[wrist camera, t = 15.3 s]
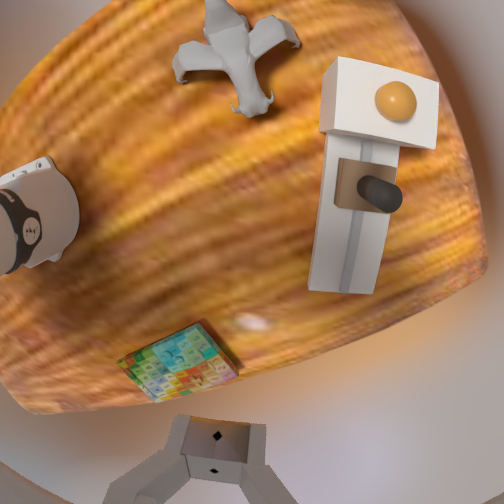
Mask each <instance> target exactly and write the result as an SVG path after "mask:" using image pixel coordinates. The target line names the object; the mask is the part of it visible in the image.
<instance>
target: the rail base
mask: <svg viewBox="0 0 504 504" xmlns="http://www.w3.org/2000/svg"><path fill="white" fill-rule="evenodd" d="M392 81H399V82H403V83H405V84H406V85H408V86H409V87H410V88H411V89H412V91H413V92H414V94H415V96H416V100H417V108H416V111H415V113H414V114H413V116H412V117H410V118H408V119H405V120H396V121H393V120H389V119H387V118H385V117H383V116H382V115H381V114H380V113H379V111H378V110H377V108H376V105H375V94H376V91H377V90H378V88H380V87H381V86H383V85H385V84H387V83H389V82H392ZM438 100H439V83H437V82H435V81H432V80H429V79H426V78H423V77H420V76H417V75H414V74H410V73H407V72H404V71H400V70H397V69H393V68H389V67H386V66H382V65H378V64H373V63H369V62H365V61H360V60H355V59H350V58H345V57H340V56H338V57H337V58H336V60H335V61H334V62H333V63H332V65H331V66H330V67H329V68H328V69H327V71H326V72H325V73H324V74H323V76H322V92H321V107H320V120H319V132H323V133H326V138H325V149H324V160H323V170H322V179H321V188H320V197H319V205H318V213H317V221H316V229H315V236H314V243H313V250H312V257H311V264H310V270H309V277H308V283H307V285H308V289H309V290H311V291H325V292H340V293H344V294H348V293H357V294H373V291H374V287H375V284H376V280H377V275H378V271H379V267H380V263H381V258H382V254H383V249H384V245H385V240H386V235H387V230H388V224H389V219H390V214H382V213H375V212H367V211H359V210H351V209H343V208H338V207H337V206H336V205H335V204H334V203H333V202H334V195H335V186H336V178H337V169H338V160H339V158H346V159H351V160H358V161H364V162H370V163H376V164H382V165H388V166H392V167H396V168H397V167H398V158H399V149H400V146H404V147H415V148H424V149H433V150H435V147H436V136H437V122H438ZM396 174H397V171H396ZM395 182H396V179H395Z"/></svg>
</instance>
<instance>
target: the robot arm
mask: <svg viewBox="0 0 504 504" xmlns="http://www.w3.org/2000/svg"><path fill="white" fill-rule="evenodd" d="M78 226H79V206H78V201H77V197H76V194H75V192H74V190H73V188H72V186H71V184H70V183H69V181H68V180H67V179H66V178H65V177H64V176H63V175H62V174H61V173H60V172H59V171H58V170H57V169H56V167H55V165H54V163H53V161H52V160H51V158H50V157H49V156H45V157H42V158H40V159H37V160H35V161H33V162H30V163H28V164H26V165H24V166H22V167H19V168H17V169H15V170H13V171H11V172H9V173H7V174H5V175H3V176H1V178H0V277H1V276H2V275H3V274H9V273H11V272H14V271H16V270H18V269H19V268H21V267H22V266H26V267H28V268H32V267H34V266H36V265H38V264H40V263H42V262H44V261H45V260H50V261H52V262H56V261H58V260H59V259H60V258H61V256H62V253H63V250H64V249H65V248H66V247H67V246H68V245H69V244H70V243H71V242H72V241H73V239H74V237H75V235H76V233H77V230H78ZM265 444H266V424H252V423H251V424H250V423H245V422H234V421H224V420H221V421H220V420H214V419H207V418H201V417H195V416H190V415H184V414H178V413H177V415H176V416H175V418H174V421H173V424H172V427H171V430H170V433H169V436H168V439H167V442H166V445H165V449H164V451H163V450H159V451H158V452H156V453H155V454H153V455H152V456H150V457H149V458H148V459H146V460H145V461H143V462H142V463H140V464H139V465H137V466H136V467H135V468H133V469H132V470H130V471H129V472H127V473H126V474H124V475H123V476H121V477H119V478H118V479H117V480H115V481H113V482H112V483H110V486H109V488H108V491H107V493H106V496H105V498H104V501H103V503H102V504H164V503H165V502H166V501H167V500H168V499H169V498H170V497H172V496H173V495H174V494H175V493H176V492H177V491H178V490H179V489H180V488H181V487H183V486H184V485H185V484H186V483H187V482H188V481H189V480H190V478H195V479H202V480H209V481H217V482H223V483H230V484H239V486H240V488H241V489H242V491H243V493H244V495H245V496H246V498H247V499H248V501H249V503H250V504H298V503H297V502H296V500H295V499H294V498H293V497H292V495H291V494H290V493H289V491H288V490H287V489H286V487H285V486H284V485H283V483H282V482H281V481H280V479H279V478H278V477H277V475H276V474H275V473H274V471H273V470H272V468H271V467H270V466H269V465H265ZM0 504H73V503H71V502H69V501H67V500H64V499H63V498H61V497H59V496H57V495H55V494H53V493H51V492H49V491H47V490H46V489H44V488H42V487H40V486H38V485H37V484H35V483H33V482H32V481H30V480H28V479H27V478H25V477H24V476H22V475H20V474H19V473H17V472H16V471H14V470H13V469H11V468H10V467H8V466H7V465H5V464H4V463H3V462H1V461H0ZM482 504H504V492H503V493H502V494H500V495H498V496H496V497H494V498H492V499H490V500H488V501H487V502H484V503H482Z"/></svg>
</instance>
